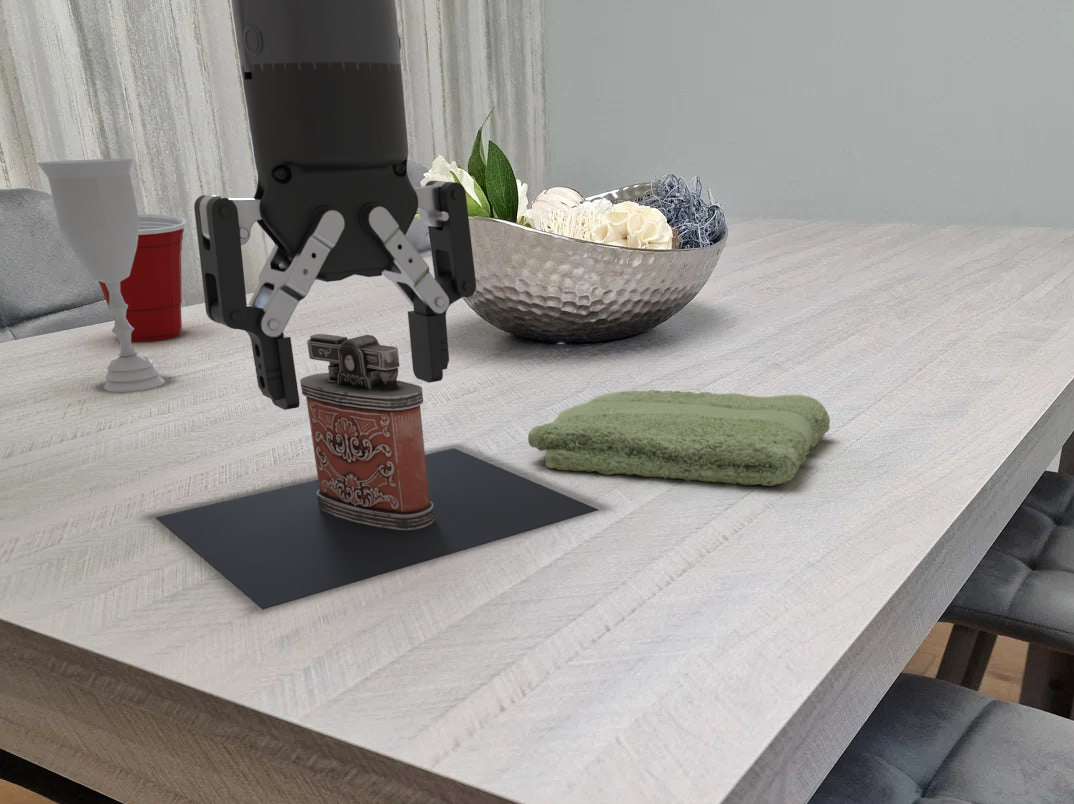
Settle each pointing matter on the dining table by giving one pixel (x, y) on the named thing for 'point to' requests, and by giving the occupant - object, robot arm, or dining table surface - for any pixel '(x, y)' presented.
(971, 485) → the dining table surface
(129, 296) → the plastic cup
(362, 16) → the robot arm
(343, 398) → the lighter
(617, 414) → the washcloth
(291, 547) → the mat
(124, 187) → the chalice
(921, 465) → the dining table surface
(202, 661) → the dining table surface
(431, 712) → the dining table surface
